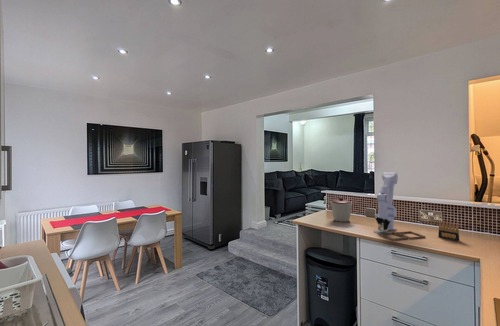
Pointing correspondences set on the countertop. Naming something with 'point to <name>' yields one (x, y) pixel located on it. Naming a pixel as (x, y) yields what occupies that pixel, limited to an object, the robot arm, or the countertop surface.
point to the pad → (381, 232)
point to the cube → (381, 227)
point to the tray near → (394, 234)
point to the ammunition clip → (444, 231)
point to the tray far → (412, 233)
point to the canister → (341, 209)
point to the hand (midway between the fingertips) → (383, 228)
